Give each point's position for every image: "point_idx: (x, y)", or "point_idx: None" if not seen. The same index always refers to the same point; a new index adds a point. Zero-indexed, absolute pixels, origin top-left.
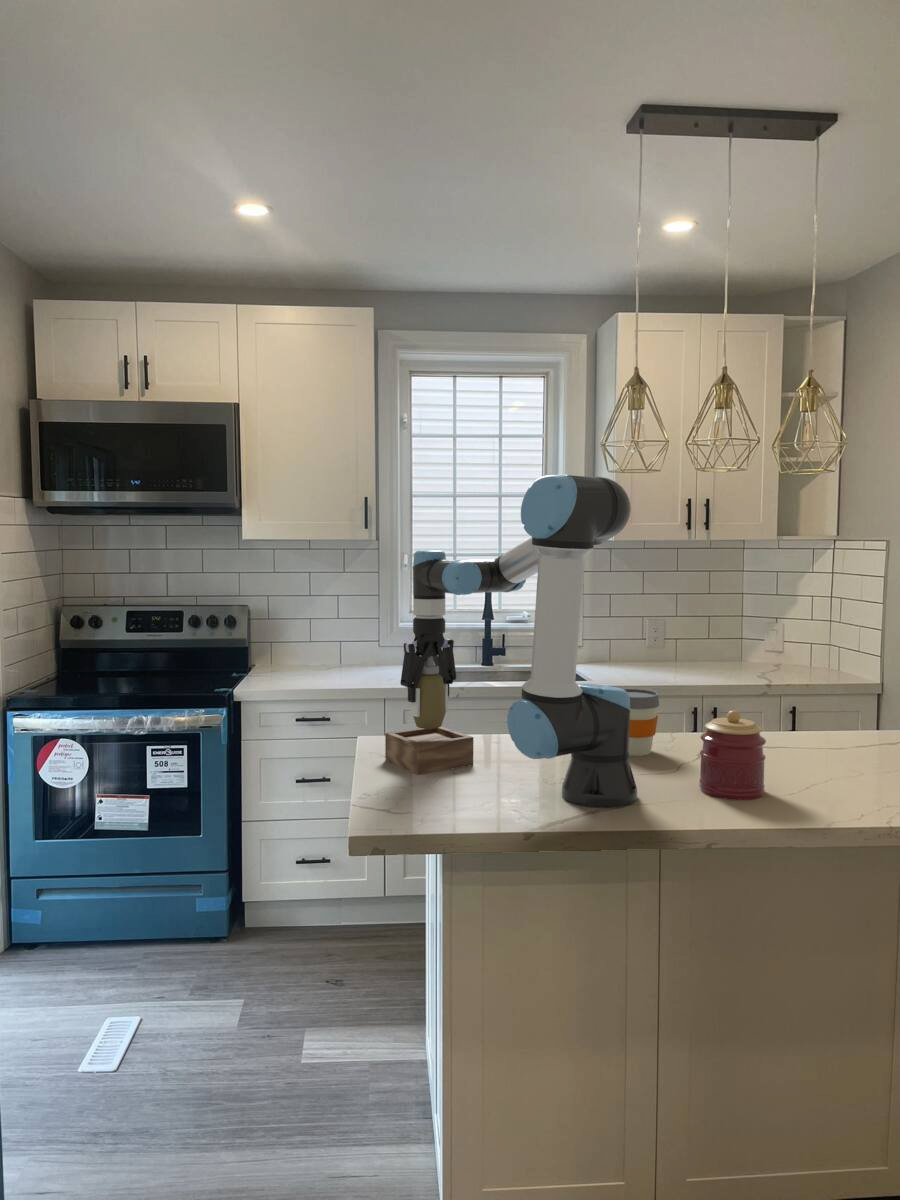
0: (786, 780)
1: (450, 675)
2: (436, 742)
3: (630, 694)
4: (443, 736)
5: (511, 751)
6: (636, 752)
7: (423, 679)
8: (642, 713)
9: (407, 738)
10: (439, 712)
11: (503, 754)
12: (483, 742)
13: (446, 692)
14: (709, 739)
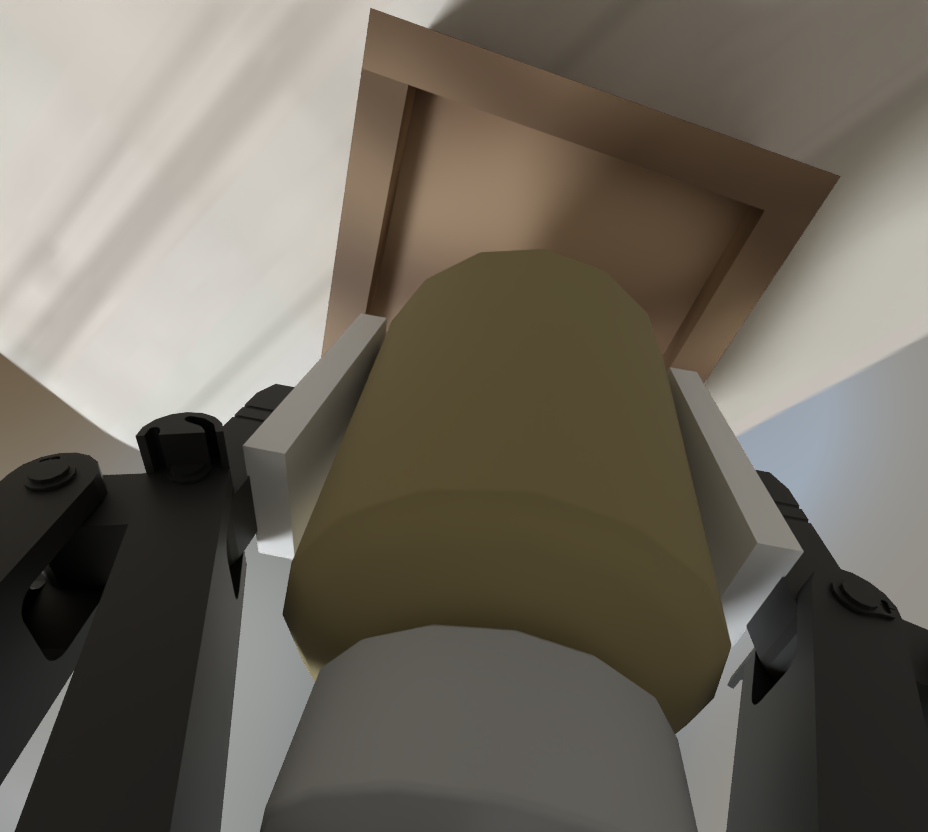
0: None
1: (77, 544)
2: (685, 132)
3: None
4: (403, 297)
5: (60, 82)
6: None
7: (729, 640)
8: None
9: (675, 362)
10: (556, 257)
11: (131, 74)
12: (98, 308)
13: (310, 394)
14: None
